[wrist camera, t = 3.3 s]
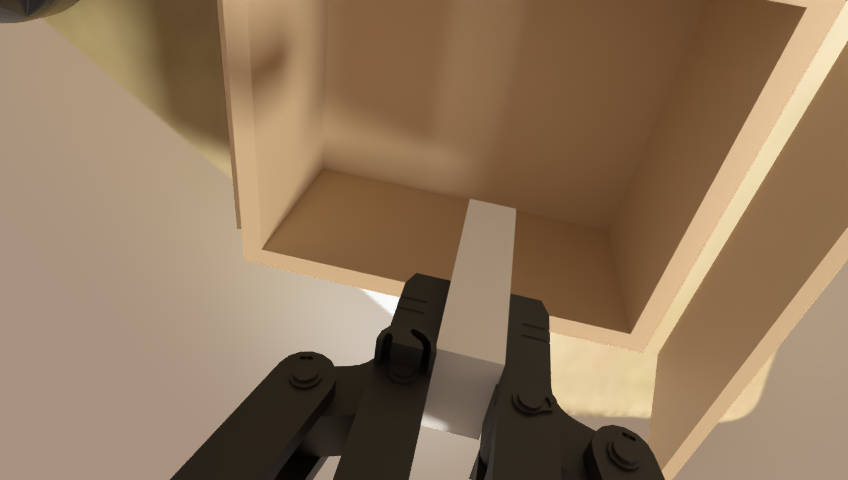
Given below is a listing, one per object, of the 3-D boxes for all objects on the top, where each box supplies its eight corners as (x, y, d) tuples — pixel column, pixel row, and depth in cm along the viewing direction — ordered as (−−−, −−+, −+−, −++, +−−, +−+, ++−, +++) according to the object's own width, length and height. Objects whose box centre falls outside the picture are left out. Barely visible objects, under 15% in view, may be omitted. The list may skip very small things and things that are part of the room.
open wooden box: (303, 180, 35) (234, 266, 27) (304, -145, 25) (191, -162, 17) (613, 248, 34) (638, 360, 26) (755, -66, 23) (872, -44, 15)
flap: (642, 495, 18) (656, 502, 17) (935, 111, 9) (965, 119, 9) (658, 354, 23) (668, 358, 23) (848, 40, 15) (866, 43, 15)
